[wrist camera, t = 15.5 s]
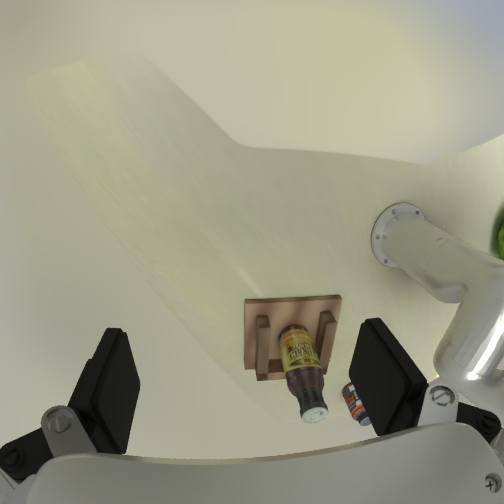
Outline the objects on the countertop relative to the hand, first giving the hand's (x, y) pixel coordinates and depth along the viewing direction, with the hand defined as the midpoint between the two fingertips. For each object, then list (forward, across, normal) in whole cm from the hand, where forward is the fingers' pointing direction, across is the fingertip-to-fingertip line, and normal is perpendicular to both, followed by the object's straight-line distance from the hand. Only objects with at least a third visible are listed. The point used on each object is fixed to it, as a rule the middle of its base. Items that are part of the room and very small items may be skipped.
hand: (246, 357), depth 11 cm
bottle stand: (+38, -12, +28) cm, 49 cm away
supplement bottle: (+38, -30, +48) cm, 68 cm away
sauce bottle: (+37, -12, +28) cm, 48 cm away
